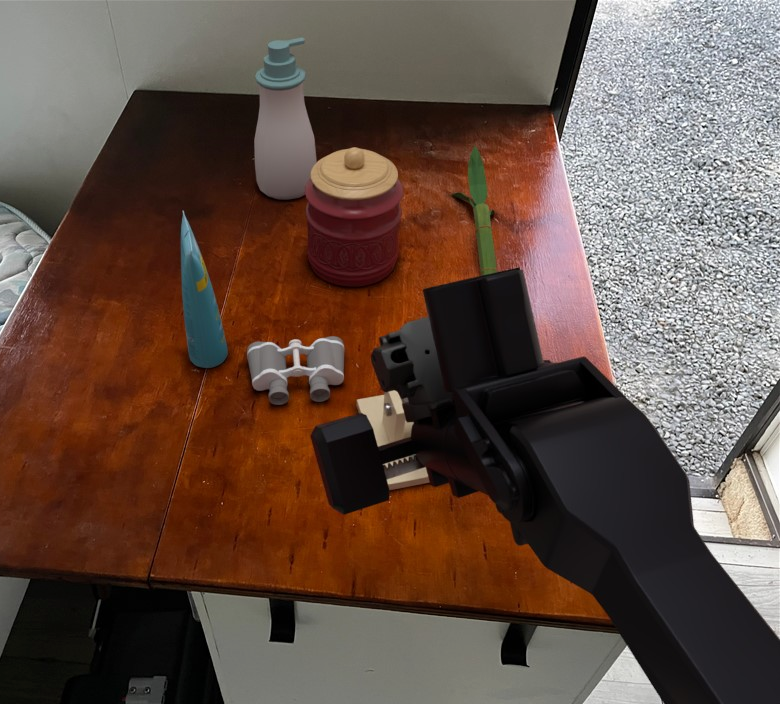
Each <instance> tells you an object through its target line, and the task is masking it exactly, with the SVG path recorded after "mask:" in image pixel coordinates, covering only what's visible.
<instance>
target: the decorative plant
mask: <svg viewBox="0 0 780 704" xmlns="http://www.w3.org/2000/svg"><path fill="white" fill-rule="evenodd" d="M467 164H468V165H467V180H468V188H469V194H470V196H471V197H470V196H467V195H465V194H464V193H463V192H462V191H458V192H455V193H452V194H451V196H453V197H455V198H457V199H460V200H463V201H466V202H469V203H470V205H471V207H472V209H473V219H474V225H475V235H476V245H477V253H478V261H479V262H478V263H479V270H480V276H482V275H487V274H491V273H496V272H499V271H498V269H497V268H498V267H497V262H496V261H497V260H496V253H495V245H494V238H493V237H494V236H493V227H492V223H491V222H492V221H491V215H494V214H495V209H491V210H490V208H489V205H488V204H486V201H487V199H488V186H487V185H488V184H487V177H486V172H485V171H486V170H485V166H484V165H485V164H484V161H483V158H482V156H481V153H480V151H479V149H478V147H477V146H476V145H475V144H474V145H473V148H472V150H471V153H470V156H469V159H468V163H467Z"/></svg>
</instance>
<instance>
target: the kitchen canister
mask: <svg viewBox="0 0 780 704" xmlns="http://www.w3.org/2000/svg"><path fill="white" fill-rule="evenodd" d="M304 196H305V199H306V201H307V204H306V205H305V206H306V207H305V218H306V225H307V244H306V254H307V255H306V256H307V259H308V263H309V265H310V269H312V271H313V272H314V273H315V274H316V276H318V277H319V278H321V280H324V281H326V282H328V283H330V284H333V285H337V286H341V287H342V286H343V287H350V288H351V287H355V288H356V287H364V286H368V285H369V286H370V285H373V284H376V283H378V282H381V281H382V280H383V279H385V278H386V277H388V276H389V275H390V274H391V273H392V272H393V271H394V268H395V266H396V263H397V261H398V257H399V251H400V245H399V234H400V223H401V219H402V214H403V213H402V206H401V204H400V203H401V201H402V199H403V196H404V186H403V184H402V182H401V180H400V178H399V172H398V169H397V167H396V165H395V164H394V163H393V161H392V160H390V159H388V158H387V157H385V156H383V155H381V154H379V153H377V152H375V151H372V150H369V149H365V148H359V147H354V146H353V147H350V148H347V149H346V148H345V149H340V150H336V151H334V152H332V153H330V154H328V155H326V156H324V157H322V158H320V159H319V160H318V161H316V164H315V165H314V166H313V168H312V170H311V178H310V179H309V180H308V182H307V183H306V186H305V195H304Z"/></svg>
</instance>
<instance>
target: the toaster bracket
mask: <svg viewBox="0 0 780 704" xmlns="http://www.w3.org/2000/svg"><path fill="white" fill-rule="evenodd" d="M356 409H357V413H358V414H359V413H363V414H365V415H366V416H367V418H368V420H369V422H370V424H371V426H372V427H373V430H374V434H375V438H376V441H377V445H378V447H379V446H382V445H385V444H388V443H392V442H395V441H398V440H401V439H405V438H408V437H411V429H412V425H413V423H414V422H409V423H407V422H406V420H405V415H404V411H403V407H402V401H401V398H400V396H399V394H398V392H397V391H390V392H387V393H386V392H384V394H381V395H374V396H369V397H365V398H364V397H363V398H359V399H356ZM409 457H411V456H408V457H405V458H406V459H407V460H408V458H409ZM399 460H401V461H402V462H403V458H402V459H399ZM393 462H394V461H392V462H389V463H391V465H392V466H393ZM395 462H396V463H397V464H398V460H395ZM383 465H386V467H387V468H388V463H386V464H383ZM387 482H388V486H389V490H390V491H393V490H398V489H403V488H409V487H415V486H419V485H424V484H430V481H429V478H428V474H427V470H426V467H425V468H422V469H419V470H415V471H412V472H409V473H406V474H403V475H400V476H397V477H393V478H390V479H387Z"/></svg>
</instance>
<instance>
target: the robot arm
mask: <svg viewBox="0 0 780 704" xmlns="http://www.w3.org/2000/svg"><path fill="white" fill-rule="evenodd" d="M422 293H423V298H424V303H425V308H426V312H427V315H428V316H425V317H424V316H423V317H421V318H418V319H414V320H410V321H406V322H405V323H404V324H402V326H401V327H400V328H399V330H396V331H392V332H389V333H387V334H385V335H382V336H379V338H378V341H379V342H378V343H379V346H377V347H375V348H373V349H372V352H371V354H370V362H371V366H372V368H373V371H374V374H375V376H376V379H377V381H378V384H379V387H380V389H381V390H382V391H383V392H384V393H385V392H386V393H387V392H390V391H397V392H398V394H399V396H400V398H401V399H404V398H408V401H409V402H406V403H402V407H403V411H404V415H405V418H406V421H407V422H414V423H413V425H412V429H411V437H408V438H405V439H401V440H398V441H395V442H392V443H388V444H385V445H382V446H379V447H378V445H377V441H376V438H375V434H374V430H373V427H372V426H371V424H370V422H369V420H368V418H367V416H366V415H365V414H363V413H359V412H358V413H356V414H351V415H348V416H344V417H341V418H338V419H334V420H331V421H328V422H324V423H321V424H318V425H314V428H313V429H312V432H311V434H310V435H309V437H310V440H311V441H310V442H311V444H312V447H313V451H314V456H315V459H316V463H317V466H318V470H319V473H320V477H321V482H322V485H323V488H324V492H325V496H326V498H327V502H328V506H330V507H331V508H332V509H333V510H335V511H337V512H338V513H340V514H342V515H348V514H351V513H354V512H357V511H360V510H364V509H366V508H368V507H372V506H375V505H379V504H382V503H385V502H388V501H390V491H391V490H389V486H388V482H387V479H390V478H393V477H397V476H400V475H403V474H406V473H409V472H412V471H415V470H419V469H422V468H425V467H426V470H427V474H428V478H429V481H430V483H429V485H430V486H432V487H434V488H438V487H440V486H444V485H447V484H449V487H450V491H451V495H452V496H453V497H455V498H457V499H460V498H463V497H466V496H470V495H473V494H475V493H478V492H480V493H482V494H485V495H487V496H488V497H489V499H490V500H491V502H493V503H494V504H495V508H496V511H497V512H498V513H499V514H501V515H502V516H503V518H504V519H505V520H506V521H507V522H509V524H510V528H511V529H510V530H511V534H512V538H513V541H514V543H515V544H516V545H517V546H519V547H522V546H525V545H528V546H529V548H530V549H531V550H532V551H533V554H535V556H536V558H537V559H538V560H539V562H540V563H541V564H542V565H543V567H545V568H546V569H547V570H549V571H550V572H552V573H554V574H555V575H557V576H559V577H561V578H563V579H564V580H566V581H568V582H569V583H571V584H573V585H574V586H577V587H578V588H580V589H582V590H583V591H585V592H587V593H589V594H590V595H592V596H593V597H594V599H595V601H596V602H597V603H598V604H599V606H600V607H601V608H602V610H603V611H604V612H605V614H606V615H607V616H608V618H609V620H610V621H611V622H612V624H613V626H614V628H615V629H616V630H617V632H618V634H619V635H620V637H621V639H622V640H623V642H624V643H625V645H626V646H627V648H628V650H629V651H630V652H631V654H632V656H633V657H634V659H635V661H636V662H637V663H638V665H639V667H640V669H641V670H642V672H643V673H644V675H645V676H646V679H648V682H649V683H650V684H651V686H652V687H653V690H655V692H656V694H657V695H658V697H659V698H660V700H661V702H662V704H780V637H779V636H778V634H777V633H776V631H774V629H773V628H772V627H771V625H769V623H768V622H767V621H766V620H765V618H764V617H763V616H762V614H761V613H760V612H759V610H757V608H756V607H755V605H753V603H752V602H751V601H750V599H749V598H748V597H747V596H746V594H745V593H744V592H743V591H742V590H741V588H740V587H739V586H738V584H736V582H735V581H734V580H733V578H732V577H731V576H730V574H729V573H728V572H727V571H726V569H725V568H724V567H723V565H722V564H721V563H720V562H719V561H718V559H717V558H716V557H715V556H714V555H713V553H712V552H711V550H710V549H709V547H708V545H707V544H706V543H705V541H704V540H703V538H702V536H701V535H700V533H699V532H698V531H697V529H696V528H695V523H694V513H693V501H692V494H691V493H692V492H691V482H690V479H689V476H688V475H687V473H686V471H685V470H684V468H683V467H682V465H681V464H680V462H679V461H678V459H677V458H676V456H675V455H674V454H673V452H672V451H671V449H670V448H669V446H668V445H667V444H666V442H665V440H664V439H663V437H662V436H661V434H660V432H659V430H658V429H657V427H656V426H655V425H654V424H653V422H652V421H651V420H650V419H649V417H648V416H647V415H646V414H645V413H644V412H643V411H642V410H641V409H640V408H639V407H638V406H636V405H635V404H634V403H633V402H632V401H630V399H629V398H628V397H627V396H626V395H625V394H624V393H623V392H622V391H621V390H620V389H618V387H617V386H616V385H615V384H613V382H612V381H611V380H610V379H608V377H607V376H606V375H604V373H603V372H602V371H600V369H599V368H598V367H597V366H596V365H595V364H593V362H592V361H590V359H589V358H587V357H586V356H580V357H575V358H572V359H568V360H564V361H559V362H553V361H551V360H550V359H544V358H543V352H542V349H541V344H540V339H539V335H538V330H537V326H536V322H535V317H534V312H533V308H532V304H531V303H532V302H531V300H530V295H529V291H528V285H527V281H526V277H525V273H524V269H521V267H520V266H519V267H514V268H510V269H506V270H505V269H504V270H501V271H498V272H496V273H491V274H487V275H482V276H481V275H478V276H473V277H469V278H465V279H461V280H456V281H451V282H447V283H442V284H438V285H433V286H430V287H429V286H428V287H426V288H424V289H422ZM411 455H414V458H413V459H412V457H409V458H408V460H407V459H406V458H405V457H408V456H411ZM402 458H403V462H402V461H401V460H399V459H402ZM395 460H398V464H397V463H396V462H395ZM392 461H394V462H393V466H392V465H391V463H389V462H392ZM386 463H388V468H387V467H386V465H383V464H386Z"/></svg>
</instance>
